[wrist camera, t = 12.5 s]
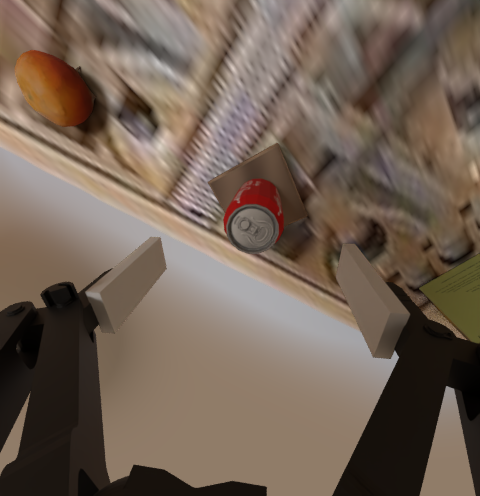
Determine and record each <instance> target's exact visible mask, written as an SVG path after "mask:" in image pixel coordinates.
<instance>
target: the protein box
mask: <svg viewBox="0 0 480 496" xmlns="http://www.w3.org/2000/svg"><path fill="white" fill-rule="evenodd" d="M419 289H420V290H421V292H422V293H423V294H424V295H425V296H426V297H427V298H428V299H429V300H430V301H431V302H432V303H433V305H434V306H435V307H436V308H437V309H438V310H439V311H440V312H441V313H442V314H443V315H444V317H445V318H446V319H447V320H448V321H449V322H450V323H451V324H452V325H453V326H454V327H455V328H456V329H457V330H458V331H459V332H460V333H461V334H462V335H463V336H464V337H465V338H466V339H467V340H468V341H471V342H475V343H480V254H478V255H476V256H474V257H473V258H471V259H469V260H467V261H466V262H464V263H462V264H460V265H458V266H457V267H455V268H453V269H451V270H450V271H448V272H446V273H444V274H443V275H441V276H439V277H437V278H436V279H434V280H432V281H430V282H428V283H427V284H425V285H423V286H421V287H420V288H419Z"/></svg>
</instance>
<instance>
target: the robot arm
mask: <svg viewBox="0 0 480 496" xmlns="http://www.w3.org/2000/svg"><path fill="white" fill-rule="evenodd" d="M166 269H167V268H166V263H165V258H164V253H163V248H162V243H161V238H160V237H150V238H149V239H148V240H147V241H145V243H143V244H142V245H141V246H139V247H138V248H137V249H136V250H135V251H134V252H132V253H131V254H130V255H129V256H127V257H126V258H125V259H124V260H123V261H121V262H120V263H119V264H118V265H117V266H115V267H114V268H112V269H110V270H108V271H106V272H104V273H103V274H101V275H100V276H99V277H98V278H97V279H95V280H94V281H93V282H91V283H90V284H89V285H88V286H87V287H85V288H84V289H83V290H82V291H80V292H79V293H77V291H76V289H75V287H74V284H73V283H71V282H62V283H58V284H55V285H52V286H50V287H48V288H46V289H45V290H44V291H42V293H41V297H42V299H43V301H44V303H45V305H46V306H47V307H45V308H39V309H36V308H35V307H34V305H33V303H32V302H28V301H27V302H20V303H15V304H13V305H10V306H9V307H7V308H5V309H4V310H2V311H1V312H0V452H1V450H2V448H3V446H4V444H5V442H6V440H7V438H8V436H9V434H10V432H11V429H12V428H13V425H14V424H15V421H16V419H17V418H18V416H19V413H20V411H21V409H22V407H23V405H24V403H25V401H26V399H27V397H28V395H29V393H30V398H29V403H28V408H27V412H26V418H25V422H24V427H23V432H22V437H21V442H20V447H19V453H18V455H17V458H16V460H15V461H13V462H11V463H9V464H7V465H6V466H5V468H4V469H3V471H2V473H1V476H0V496H267V493H266V492H267V487H265V486H259V485H253V484H247V483H241V482H235V481H230V482H225V483H220V484H215V485H210V486H205V487H200V488H194V487H191V486H190V485H188V484H186V483H185V482H183V481H182V480H180V479H179V478H177V477H175V476H174V475H172V474H170V473H169V472H167V471H165V470H163V469H157V468H151V467H145V466H139V465H133V468H132V470H131V472H130V475H129V476H127V477H124V478H121V479H118V480H116V481H114V482H112V483H110V479H109V476H108V473H107V469H106V462H105V449H104V436H103V423H102V410H101V396H100V384H99V370H98V358H97V344H96V334H95V332H94V329H95V328H96V327H97V326H98V325H99V326H100V328H101V331H102V332H104V333H114V334H115V333H116V332H117V331H118V329H119V328H120V327H121V326H122V324H123V323H124V322H125V320H126V319H127V318H128V317H129V315H130V314H131V313H132V312H133V310H134V309H135V308H136V307H137V305H138V304H139V303H140V301H141V300H142V299H143V298H144V296H145V295H146V294H147V292H148V291H149V290H150V289H151V288H152V286H153V285H154V284H155V283H156V281H157V280H158V279H159V277H160V276H161V275H162V274H163V272H164V271H165V270H166ZM336 279H337V281H338V283H339V285H340V287H341V290H342V292H343V294H344V296H345V298H346V300H347V302H348V304H349V307H350V309H351V311H352V313H353V315H354V317H355V319H356V322H357V324H358V326H359V328H360V330H361V332H362V334H363V336H364V338H365V341H366V343H367V345H368V347H369V349H370V351H371V354H372V356H373V357H375V358H386V359H391V357H392V355H393V352H394V350H395V351H396V353H397V355H398V356H399V359H398V361H397V363H396V365H395V367H394V369H393V371H392V373H391V376H390V378H389V380H388V382H387V384H386V386H385V388H384V390H383V392H382V394H381V396H380V399H379V400H378V403H377V405H376V407H375V409H374V411H373V413H372V415H371V417H370V419H369V421H368V423H367V425H366V427H365V430H364V431H363V434H362V436H361V438H360V440H359V442H358V444H357V446H356V448H355V450H354V452H353V454H352V456H351V458H350V461H349V463H348V465H347V467H346V469H345V470H344V472H343V474H342V477H341V479H340V481H339V483H338V485H337V487H336V489H335V491H334V493H333V495H332V496H419V495H420V491H421V487H422V483H423V479H424V475H425V471H426V466H427V462H428V458H429V454H430V450H431V446H432V442H433V438H434V433H435V429H436V425H437V421H438V417H439V413H440V409H441V405H442V401H443V397H444V392H445V388H446V386H448V387H451V388H454V390H455V395H456V399H457V404H458V409H459V414H460V419H461V424H462V429H463V434H464V439H465V444H466V448H467V454H468V459H469V464H470V469H471V474H472V478H473V483H474V488H475V494H476V496H480V343H475V342H471V341H468V340H464V339H461V338H457V337H456V336H455V334H454V333H453V332H452V331H451V330H450V329H448V328H447V327H446V326H444V325H442V324H440V323H438V322H435V321H432V320H429V319H428V318H427V317H426V316H425V315H424V314H423V312H422V311H421V310H420V309H419V308H418V307H417V306H416V304H415V303H414V302H412V300H411V299H410V297H409V296H407V294H406V293H405V292H404V291H403V289H402V288H400V287H399V286H397V285H396V284H394V283H392V282H385V281H384V280H383V279H382V278H381V276H380V275H379V274H378V273H377V271H376V270H375V269H374V268H373V266H372V265H371V264H370V263H369V261H368V260H367V259H366V258H365V256H364V255H363V254H362V252H361V251H360V250H359V249H358V247H357V246H356V245H355V244H343V246H342V250H341V255H340V260H339V264H338V269H337V274H336ZM16 348H17V350H16ZM30 391H31V392H30Z"/></svg>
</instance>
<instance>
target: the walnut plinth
mask: <svg viewBox="0 0 480 496" xmlns="http://www.w3.org/2000/svg"><path fill="white" fill-rule="evenodd" d="M261 178H262V179H264V180H267V181H270V182H271V183H272V184H273V185H274V186H275V187H276V188H277V190H278V192H279V195H280V199H281V205H282V211H283V216H284V226H286V225H289V224H291V223H293V222H296V221H298V220H300V219H303V218H305V217H307V216H308V215H307V212H306V210H305V207H304V205H303V202H302V200H301V198H300V195H299V193H298V190H297V188H296V186H295V183H294V181H293V178H292V176H291V174H290V171H289V169H288V166H287V164H286V162H285V159H284V157H283V154H282V152H281V149H280V147H279V145H278V143H276V144H274V145H272V146H270V147H269V148H267V149H265V150H263V151H261V152H260V153H258V154H256V155H254V156H253V157H251V158H249V159H247V160H245V161H244V162H242V163H240V164H238V165H237V166H235V167H233V168H231V169H229V170H228V171H226V172H224V173H222V174H220V175H219V176H217V177H215V178H213V179H212V180H210V181H209V182H208V184H209V185H210V187H211V189H212V191H213V192H214V194H215V196H216V198H217V200H218V201H219V203H220V205H221V207H222V208H223V210H224V212H225V213H226V210H227V208H228V206H229V205H230V203H231V201H232V200H233V198H234V197H235V195H236V193H237V192H238V190H239V189H240V188H241V187H242V185H243V184H244V183H245V182H247V181H249V180H252V179H261Z"/></svg>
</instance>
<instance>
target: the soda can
mask: <svg viewBox="0 0 480 496" xmlns="http://www.w3.org/2000/svg"><path fill="white" fill-rule="evenodd" d="M224 230H225V232H226V234H227V237H228V238H229V240H230V242H231V244H232V245H233V246H234V247H236V248H237V249H238V250H240V251H242V252H245V253H248V254H258V253H261V252H264V251H266V250H268V249H269V248H270V247H271V246H273V245H274V244H275V243H276V242H277V241H278V240H279V238H280V236H281V234H282V232H283V230H284V216H283V211H282V205H281V199H280V195H279V192H278V190H277V188H276V187H275V186H274V185H273V184H272V183H271V182H270V181H267V180H264V179H262V178H261V179H252V180H249V181H247V182H245V183H244V184H243V185H242V187H241V188H240V189H239V190H238V192H237V193H236V195H235V197H234V198H233V200H232V201H231V203H230V205H229V206H228V208H227V210H226V213H225V216H224Z"/></svg>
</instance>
